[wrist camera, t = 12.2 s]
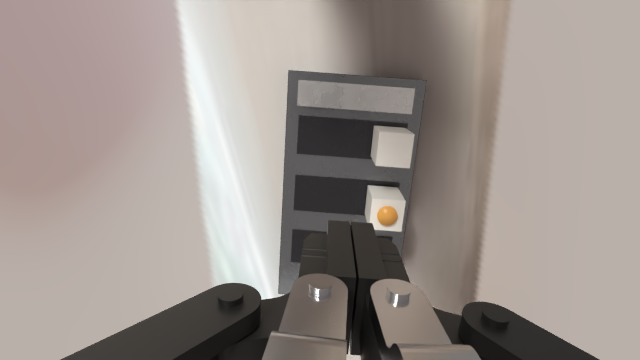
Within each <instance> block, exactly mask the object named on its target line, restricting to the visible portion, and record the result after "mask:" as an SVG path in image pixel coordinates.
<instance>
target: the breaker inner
mask: <svg viewBox="0 0 640 360" xmlns="http://www.w3.org/2000/svg"><path fill="white" fill-rule="evenodd" d="M414 136H415V134H414V133H412V132H411V131H409V130H408V129H406V128H402V127H388V126H375V125H374V129H373V138H372V147H371V158H372V160H373V162H374V164H375V166H384V167H397V168H410V164H411V157H412V150H413V143H414Z"/></svg>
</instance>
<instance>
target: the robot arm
mask: <svg viewBox="0 0 640 360" xmlns="http://www.w3.org/2000/svg"><path fill="white" fill-rule="evenodd" d="M349 341H350V355H361V360H599V359H597V358H595V357H594V356H592V355H590V354H588V353H586V352H584V351H583V350H581V349H579V348H577V347H575V346H574V345H572V344H570V343H568V342H566V341H564V340H563V339H561V338H559V337H557V336H555V335H554V334H552V333H550V332H548V331H546V330H544V329H543V328H541V327H539V326H537V325H535V324H534V323H532V322H530V321H528V320H526V319H525V318H522V317H521V316H519V315H517V314H515V313H514V312H512V311H510V310H508V309H506V308H504V307H502V306H499V305H496V304H492V303H487V302H472V303H469V304H467V305H466V306H465V307H464V308H463V311H462V316H459V315H456V314H452V313H448V312H445V311H441V310H438V309H436V308H433V307H432V306H431V304H430V302H429V301H428V299H427V297H426V295H425V294H424V292H423V291H422V290H421V289H420V288H418V287H417V286H415V285H413V284H411V283H410V281H409V278H408V275H407V273H406V270H405V267H404V265H403V263H402V259H401V257H400V254H399V251H398V249H397V246H396V245H395V244H394V243H392V242H391V241H390V240H389V239H388V238H376V234H375V230H374V227H373V223H365V222H350V223H349V221H336V220H328V223H327V234H320V233H311V234H310V235H308V236H307V237H306V238H305V239H304V243H303V250H302V256H301V263H300V270H299V276H298V279H297V280H296V281H295V282H294V283H293V285H292V289H291V292H289V293H288V294H286V295H283V296H281V297H277V298H272V299H265V300H261V296H260V294H259V292H258V291H257V290H256V289H255V288H253V287H251V286H249V285H246V284H241V283H227V284H222V285H218V286H215V287H213V288H211V289H209V290H207V291H205V292H202V293H200V294H198V295H196V296H194V297H192V298H190V299H188V300H186V301H183V302H181V303H179V304H177V305H175V306H173V307H171V308H169V309H167V310H164V311H162V312H160V313H158V314H156V315H154V316H152V317H150V318H148V319H146V320H144V321H141V322H139V323H137V324H135V325H133V326H131V327H129V328H126V329H124V330H122V331H120V332H118V333H116V334H114V335H112V336H110V337H107V338H105V339H103V340H101V341H99V342H97V343H95V344H93V345H91V346H88V347H86V348H85V349H82V350H80V351H78V352H76V353H74V354H72V355H70V356H67V357H65V358H63V359H61V360H346V354H348V349H349Z"/></svg>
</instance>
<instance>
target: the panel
mask: <svg viewBox="0 0 640 360" xmlns="http://www.w3.org/2000/svg"><path fill="white" fill-rule="evenodd" d="M426 81H427V80H413V79H400V78H386V77H373V76H359V75H346V74H332V73H319V72H305V71H292V70H289V72H288V93H287V115H286V137H285V158H284V180H283V201H282V223H281V245H280V266H279V288H278V294H288V293H289V292H291V289H292V285H293V283H294V282H295V281H296V280H297V279H298V276H299V270H300V263H301V256H302V250H303V243H304V239H305V238H306V237H307V236H308V235H310V234H311V233H320V234H327V223H328V220H336V221H349V223H350V222H365V223H367V220H366V216H365V206H366V197H367V188H368V185H373V186H386V187H398V189H399V190H400V192H401V194H402V195H403V197H404V199H405V200H406V203H405V210H404V217H403V224H402V231H401V232H397V231H384V230H375V234H376V238H388V239H389V240H390V241H391V242H392V243H394V244H395V245H396V246H397V249H398V251H399V254H400V257H401V254H402V247H403V240H404V233H405V226H406V219H407V212H408V206H409V199H410V192H411V185H412V178H413V171H414V164H415V157H416V150H417V143H418V137H419V130H420V123H421V116H422V109H423V102H424V95H425V88H426ZM374 125H375V126H388V127H402V128H406V129H408V130H409V131H411V132H412V133H414V134H415V136H414V143H413V150H412V157H411V164H410V168H397V167H384V166H375V164H374V162H373V160H372V158H371V147H372V138H373V129H374Z"/></svg>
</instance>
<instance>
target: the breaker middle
mask: <svg viewBox="0 0 640 360" xmlns="http://www.w3.org/2000/svg"><path fill="white" fill-rule="evenodd" d="M405 203H406V200H405V199H404V197H403V195H402V194H401V192H400V190H399V189H398V187H386V186H373V185H368V188H367V197H366V206H365V216H366V220H367V223H373V227H374V230H384V231H397V232H401V231H402V224H403V217H404V210H405Z"/></svg>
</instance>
